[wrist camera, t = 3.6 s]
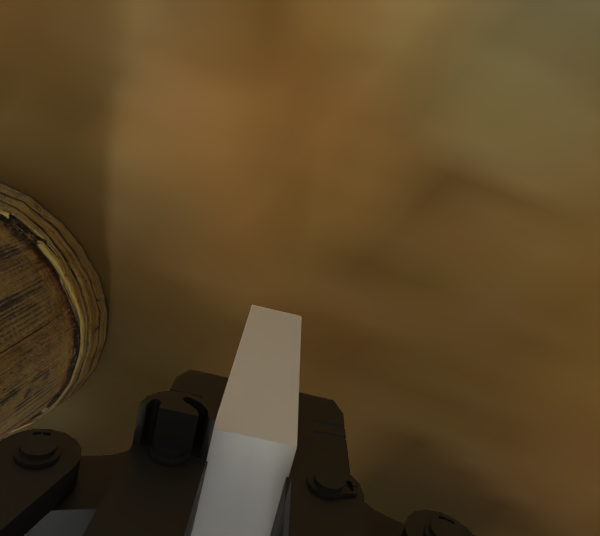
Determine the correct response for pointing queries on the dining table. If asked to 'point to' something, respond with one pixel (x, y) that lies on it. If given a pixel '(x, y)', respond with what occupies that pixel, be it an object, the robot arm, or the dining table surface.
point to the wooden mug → (43, 312)
